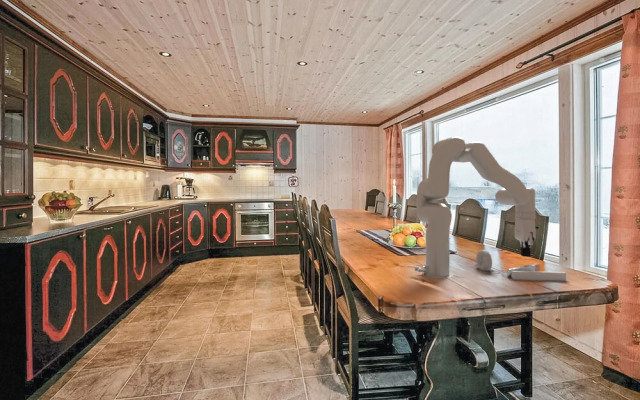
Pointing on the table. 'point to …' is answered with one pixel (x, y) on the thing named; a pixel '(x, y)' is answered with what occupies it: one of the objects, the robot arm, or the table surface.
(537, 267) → the arm
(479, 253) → the grey rounded slab
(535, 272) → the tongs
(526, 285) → the table surface
